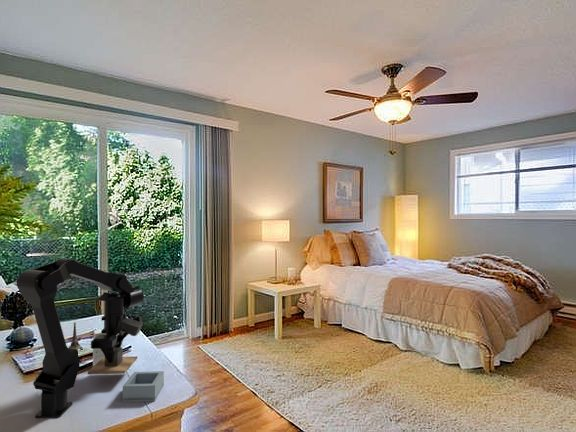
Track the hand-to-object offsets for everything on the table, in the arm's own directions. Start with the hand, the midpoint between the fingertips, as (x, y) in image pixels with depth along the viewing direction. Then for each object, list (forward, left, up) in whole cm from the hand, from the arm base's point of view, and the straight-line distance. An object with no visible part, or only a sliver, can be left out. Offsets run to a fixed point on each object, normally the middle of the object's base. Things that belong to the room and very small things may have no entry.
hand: (113, 359), depth 113 cm
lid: (0, 0, -2) cm, 2 cm away
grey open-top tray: (-10, -13, -6) cm, 18 cm away
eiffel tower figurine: (+22, +23, -7) cm, 33 cm away
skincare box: (+11, +8, -6) cm, 15 cm away
